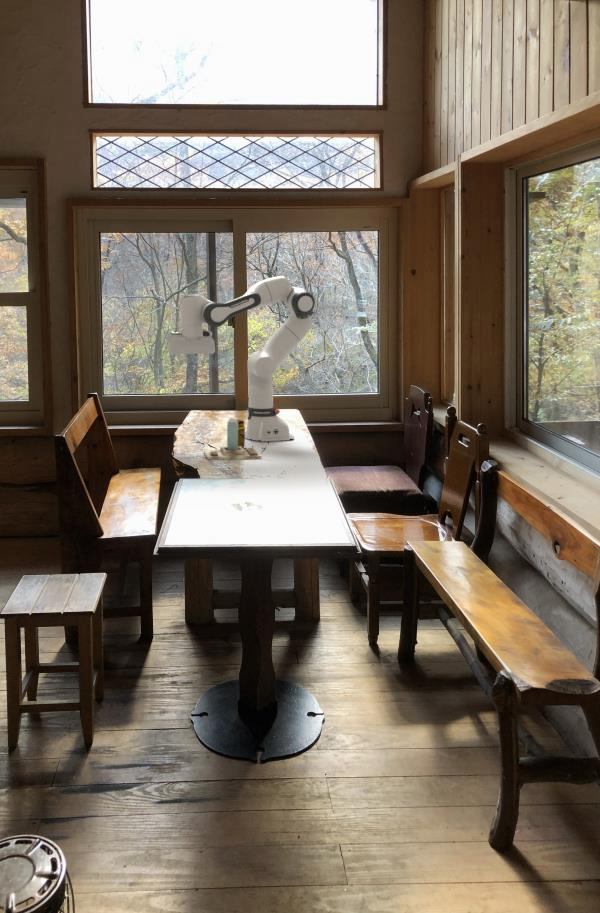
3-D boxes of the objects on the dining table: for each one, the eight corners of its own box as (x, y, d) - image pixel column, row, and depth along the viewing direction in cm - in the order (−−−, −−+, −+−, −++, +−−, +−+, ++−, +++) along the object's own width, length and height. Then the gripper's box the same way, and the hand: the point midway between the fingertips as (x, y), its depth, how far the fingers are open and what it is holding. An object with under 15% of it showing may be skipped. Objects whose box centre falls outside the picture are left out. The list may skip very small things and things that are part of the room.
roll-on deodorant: (236, 451, 379) (237, 416, 376) (238, 454, 375) (239, 418, 372) (226, 452, 378) (226, 416, 375) (227, 454, 374) (228, 418, 371)
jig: (255, 452, 385) (255, 445, 385) (261, 458, 373) (261, 451, 372) (203, 453, 380) (203, 446, 380) (208, 459, 368) (208, 452, 367)
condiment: (248, 449, 392) (248, 421, 390) (231, 450, 388) (231, 422, 385) (239, 445, 398) (240, 418, 396) (222, 447, 393) (223, 420, 391)
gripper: (168, 332, 390) (168, 365, 393) (215, 332, 395) (215, 365, 397) (166, 331, 396) (166, 363, 399) (213, 331, 401) (213, 363, 403)
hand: (191, 364), depth 398 cm, fingers open, 8 cm apart
